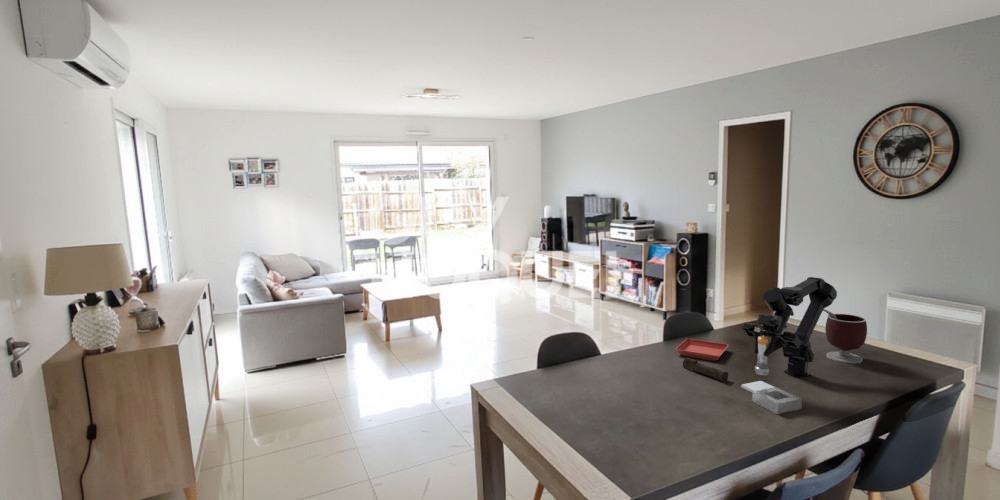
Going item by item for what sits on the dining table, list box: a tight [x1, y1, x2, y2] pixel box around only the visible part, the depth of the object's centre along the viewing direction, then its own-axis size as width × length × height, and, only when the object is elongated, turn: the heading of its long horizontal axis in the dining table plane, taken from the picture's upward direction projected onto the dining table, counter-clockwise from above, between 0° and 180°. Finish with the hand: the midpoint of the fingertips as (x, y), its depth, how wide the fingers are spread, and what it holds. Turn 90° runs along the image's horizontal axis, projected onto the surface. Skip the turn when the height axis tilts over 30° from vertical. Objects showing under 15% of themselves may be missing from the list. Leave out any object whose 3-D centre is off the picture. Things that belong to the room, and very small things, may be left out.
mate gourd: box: [822, 308, 868, 364], centre depth 202 cm, size 16×14×20 cm
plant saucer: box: [675, 338, 730, 362], centre depth 214 cm, size 18×18×3 cm
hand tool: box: [682, 356, 729, 383], centre depth 191 cm, size 19×4×5 cm, turn 29°
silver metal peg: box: [754, 336, 770, 376], centre depth 173 cm, size 4×4×13 cm
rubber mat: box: [740, 380, 775, 394], centre depth 174 cm, size 9×9×1 cm
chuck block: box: [751, 386, 803, 415], centre depth 162 cm, size 10×10×4 cm
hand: (760, 354), depth 172 cm, fingers closed on silver metal peg, 3 cm apart
